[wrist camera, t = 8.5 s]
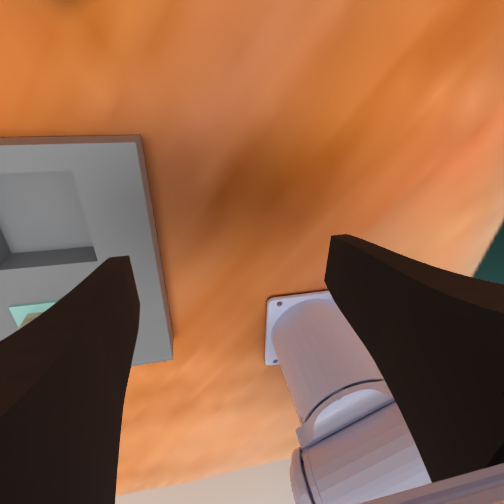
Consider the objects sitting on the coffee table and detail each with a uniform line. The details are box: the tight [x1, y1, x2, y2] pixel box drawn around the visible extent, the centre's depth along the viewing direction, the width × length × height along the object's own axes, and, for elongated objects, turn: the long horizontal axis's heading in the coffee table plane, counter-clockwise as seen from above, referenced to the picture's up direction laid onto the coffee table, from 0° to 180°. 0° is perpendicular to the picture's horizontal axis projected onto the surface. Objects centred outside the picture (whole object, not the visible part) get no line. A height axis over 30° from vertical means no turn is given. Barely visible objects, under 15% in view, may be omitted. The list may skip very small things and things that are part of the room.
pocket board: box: [0, 135, 173, 366], centre depth 19 cm, size 12×16×3 cm
